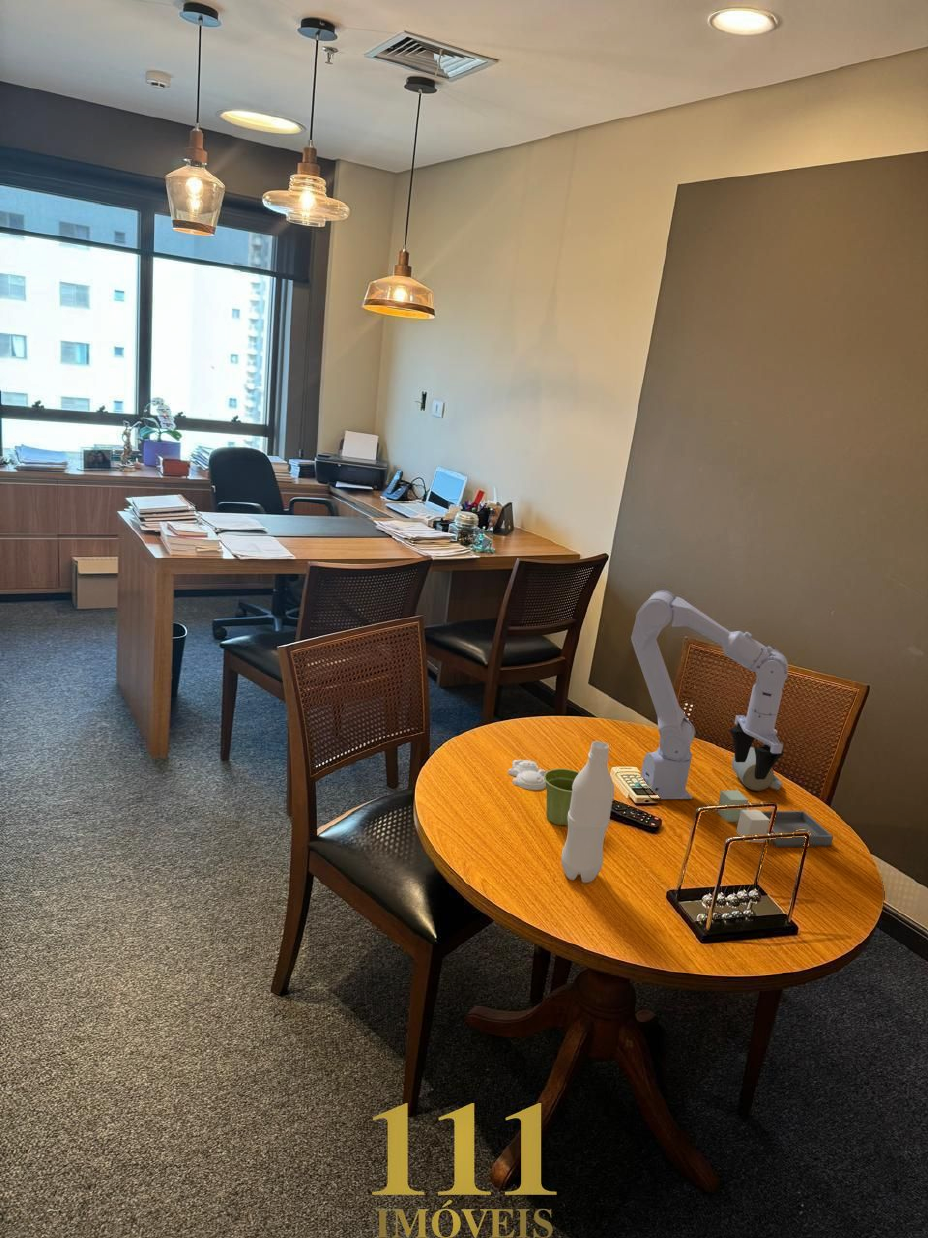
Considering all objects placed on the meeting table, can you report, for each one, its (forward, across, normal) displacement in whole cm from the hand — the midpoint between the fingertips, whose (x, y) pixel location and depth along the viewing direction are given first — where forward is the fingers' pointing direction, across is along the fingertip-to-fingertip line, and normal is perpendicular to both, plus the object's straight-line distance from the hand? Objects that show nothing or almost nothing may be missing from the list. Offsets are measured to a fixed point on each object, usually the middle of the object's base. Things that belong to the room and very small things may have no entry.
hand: (749, 770), depth 173 cm
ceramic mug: (+10, +11, -11) cm, 18 cm away
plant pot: (+10, -2, +41) cm, 42 cm away
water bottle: (+10, -20, +44) cm, 50 cm away
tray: (+9, -10, -6) cm, 14 cm away
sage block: (+10, -2, +4) cm, 11 cm away
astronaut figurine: (+10, +16, +42) cm, 46 cm away
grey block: (+10, -10, +4) cm, 15 cm away
